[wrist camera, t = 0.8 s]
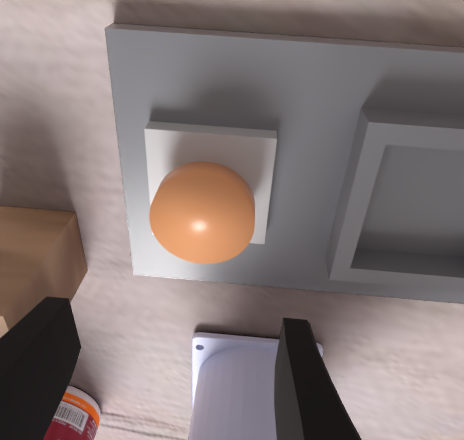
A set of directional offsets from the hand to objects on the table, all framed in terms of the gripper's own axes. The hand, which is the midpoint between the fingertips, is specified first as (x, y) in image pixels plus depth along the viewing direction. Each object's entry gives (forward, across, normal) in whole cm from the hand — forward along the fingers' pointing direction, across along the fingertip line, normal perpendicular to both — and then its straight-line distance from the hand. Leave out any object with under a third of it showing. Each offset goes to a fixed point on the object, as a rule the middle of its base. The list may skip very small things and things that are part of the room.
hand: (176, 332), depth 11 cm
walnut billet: (+10, +9, +5) cm, 14 cm away
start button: (+6, 0, 0) cm, 6 cm away
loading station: (+9, -5, 0) cm, 11 cm away
